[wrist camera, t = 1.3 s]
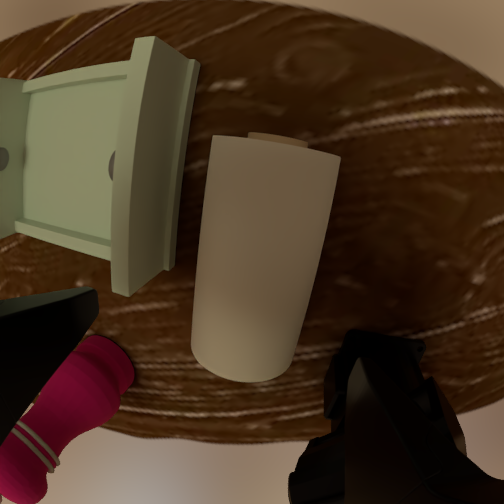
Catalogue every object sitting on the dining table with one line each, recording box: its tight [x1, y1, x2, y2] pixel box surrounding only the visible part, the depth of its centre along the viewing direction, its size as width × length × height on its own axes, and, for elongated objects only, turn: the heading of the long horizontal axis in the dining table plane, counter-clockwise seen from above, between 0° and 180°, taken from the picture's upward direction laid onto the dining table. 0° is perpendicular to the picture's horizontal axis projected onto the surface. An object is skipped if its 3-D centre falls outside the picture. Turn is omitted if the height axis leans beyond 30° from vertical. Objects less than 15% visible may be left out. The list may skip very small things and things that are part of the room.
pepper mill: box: [0, 335, 135, 504], centre depth 16 cm, size 7×7×20 cm
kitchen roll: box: [191, 132, 341, 382], centre depth 16 cm, size 13×6×6 cm, turn 171°
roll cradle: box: [0, 36, 200, 297], centre depth 17 cm, size 18×14×6 cm
